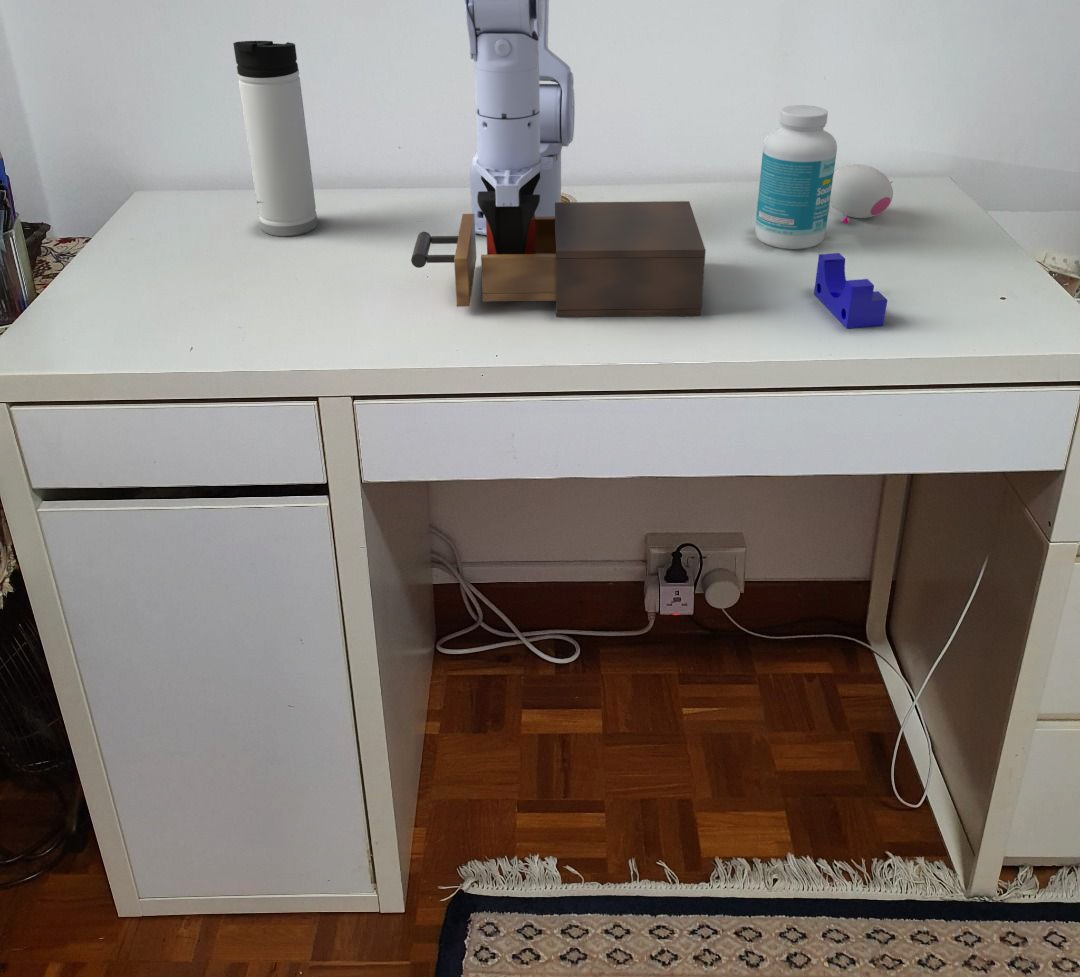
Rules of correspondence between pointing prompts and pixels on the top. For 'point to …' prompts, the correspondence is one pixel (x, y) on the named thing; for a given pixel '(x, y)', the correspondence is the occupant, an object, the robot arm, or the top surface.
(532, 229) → the can
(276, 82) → the travel mug
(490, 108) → the robot arm
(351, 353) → the top surface
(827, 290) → the cable holder
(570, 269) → the organiser
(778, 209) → the pill bottle
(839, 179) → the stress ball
